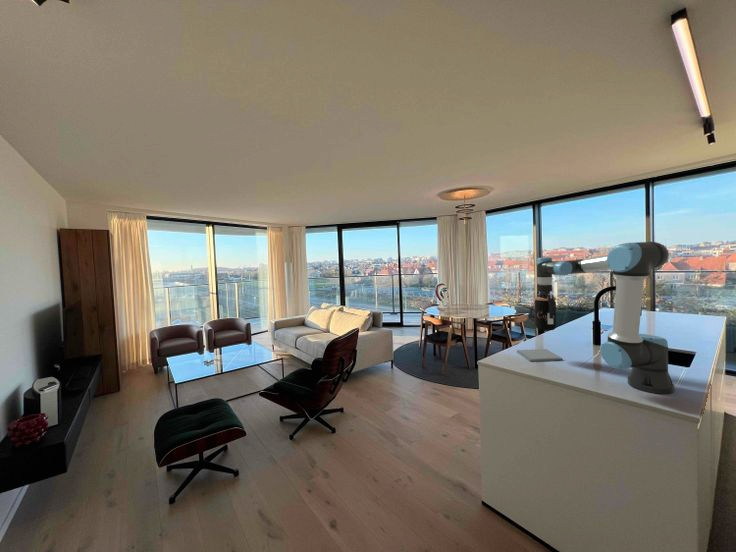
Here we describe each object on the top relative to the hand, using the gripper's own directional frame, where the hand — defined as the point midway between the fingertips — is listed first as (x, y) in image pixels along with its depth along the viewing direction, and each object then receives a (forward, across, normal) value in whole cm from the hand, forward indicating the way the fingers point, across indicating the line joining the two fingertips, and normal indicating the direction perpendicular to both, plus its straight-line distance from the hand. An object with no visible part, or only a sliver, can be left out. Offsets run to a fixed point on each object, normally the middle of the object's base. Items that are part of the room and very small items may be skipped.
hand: (545, 321), depth 175 cm
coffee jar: (+4, 0, 0) cm, 4 cm away
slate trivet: (+22, +5, +2) cm, 23 cm away
